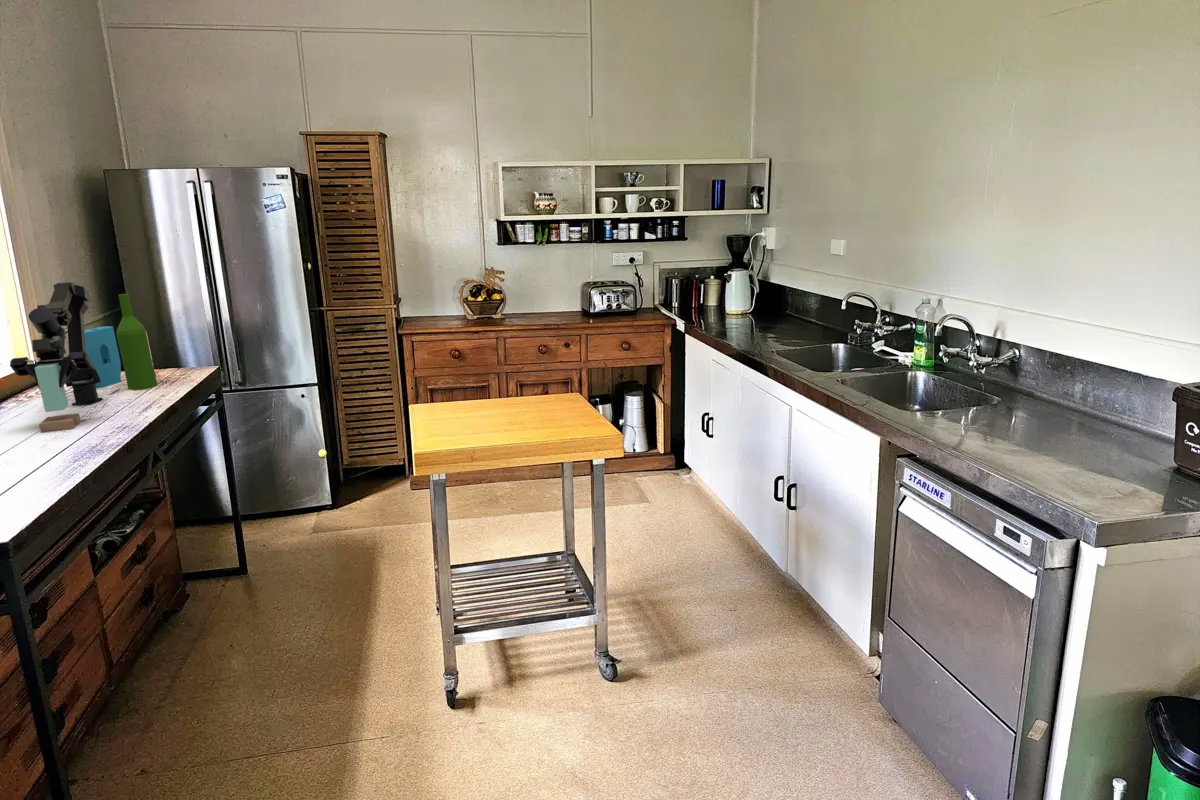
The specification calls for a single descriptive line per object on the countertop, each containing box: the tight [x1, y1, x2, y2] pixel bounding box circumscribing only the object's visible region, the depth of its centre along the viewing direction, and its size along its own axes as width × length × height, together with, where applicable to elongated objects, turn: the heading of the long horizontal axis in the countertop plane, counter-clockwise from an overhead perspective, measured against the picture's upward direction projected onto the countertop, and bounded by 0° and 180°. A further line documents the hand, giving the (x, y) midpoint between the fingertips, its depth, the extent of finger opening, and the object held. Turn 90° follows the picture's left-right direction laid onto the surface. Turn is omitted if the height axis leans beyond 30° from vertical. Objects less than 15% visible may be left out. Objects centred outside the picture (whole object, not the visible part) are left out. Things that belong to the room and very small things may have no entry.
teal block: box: [35, 363, 70, 413], centre depth 221 cm, size 5×5×13 cm
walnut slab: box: [38, 412, 82, 434], centre depth 224 cm, size 8×8×3 cm
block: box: [84, 325, 122, 389], centre depth 274 cm, size 12×5×20 cm, turn 164°
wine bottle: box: [116, 293, 158, 391], centre depth 266 cm, size 9×9×32 cm
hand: (50, 388), depth 220 cm, fingers closed on teal block, 5 cm apart
